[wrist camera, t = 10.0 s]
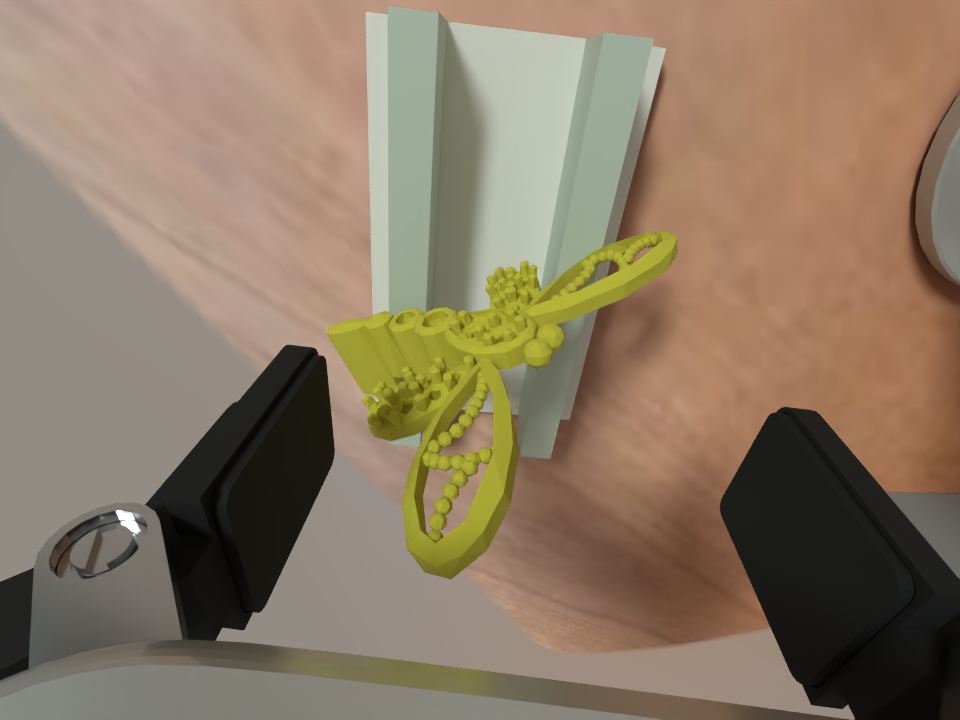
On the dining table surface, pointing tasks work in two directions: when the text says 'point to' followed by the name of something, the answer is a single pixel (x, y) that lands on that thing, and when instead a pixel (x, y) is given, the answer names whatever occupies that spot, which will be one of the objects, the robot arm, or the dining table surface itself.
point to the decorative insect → (475, 382)
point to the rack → (499, 174)
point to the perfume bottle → (935, 521)
